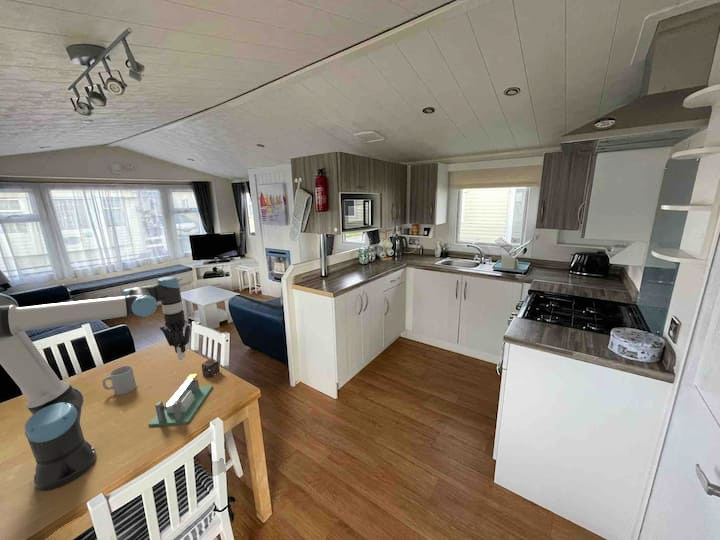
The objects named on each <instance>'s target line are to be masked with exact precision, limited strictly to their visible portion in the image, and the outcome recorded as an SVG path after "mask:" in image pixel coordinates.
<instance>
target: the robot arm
mask: <svg viewBox="0 0 720 540" xmlns="http://www.w3.org/2000/svg"><path fill="white" fill-rule="evenodd" d="M121 293H122V295H120V296H119V295H118V296H111V297H103V298H101V297H100V298H94V299H83V300H75V301H67V302H57V303H47V304H46V303H45V304H38V305H30V306H29V305H28V306H19V304H18V302H17V300H16V299H15V298H14V297H13V296H10V295H7V294H5V293H0V366H2V368H3V369H4V371H6V373H7V374H8V375H9V376H10V378H11V379H12V380H13V381H14V383H15V384H16V385H17V387H19V389H20V390H21V391H22V392H23V394H24V395H25V396H26V398H27V399H28V401H27V402H26V404H25V408H27V409H28V411H29V412H30V413H31V414H32V415H31V416H30V417H29V418H28V419H27V421H26V422H25V425H24V435H25V438H26V439H27V441H28V443H29V446H30V449H31V451H32V455H33V456H34V460H35V463H36V465H35V466H36V467H35V474H34V476H33V483H34V486H35V488H36V489H37V490H39V491H51V490H55V489H57V488H61V487H62V486H65V485H67V484H69V483H71V482H73V481H74V480H76V479H78V478H79V477H80V476H82V475H83V474H84V473H86V472H87V471H88V470H89V469H90V468H91V467H92V466H93V465H94V463H95V462H96V460H97V452H96V449H95V447H93V446H92V445H91V444H90V443H89V442H88V441H87V440H86V439H85V437H84V433H83V430H82V427H81V415H82V409H83V408H82V407H83V404H84V396H83V393H82V392H81V391H80V390H79V389H78V388H76V387H75V386H72V385H71V383H70V382H68V381H61V380H60V378H59V376H58V375H57V374H56V373H55V371H54V370H53V369H52V367H51V365H49V363H48V362H47V361H46V358H44V356H43V355H42V353H41V352H40V351H39V349H38V348H37V346H35V344H34V342H33V341H32V340H31V339H30V337H29V336H28V334H27V333H26V332H27V331H28V332H29V331H34V330H41V329H48V328H55V327H60V326H61V327H62V326H69V325H76V324H83V323H87V322H94V321H102V320H108V319H110V320H111V319H116V318H121V317H127V316H138V317H143V318H145V317H148V316H151V315H153V314H154V313H155V312H156V310H157V307H158V302H160V303H161V310H162V313H163V318H164V319H163V320H164V324H163V325H162V326H161V327H160V328H159V330H161V331H162V333H163V335H164V337H165V339H166V341H167V343H168V345H169V346H170V347H174V350H175V351H174V352H175V353H176V354H177V360H178V361H183V360H184V359H185V358H186V354H185V352H186V350H187V349H186V346H187V345H188V344H189V342H190V336H191V335H190V334H191V328H192V327H193V324H192V323H187V321H186V319H185V312H184V306H183V300H182V294H181V287H180V285H179V279H178V278H177V277H176V276H165V277H160V278H158V279H157V280H156V283H154V284H150V285H143V286H136V287H130V288H126V289H122V292H121Z"/></svg>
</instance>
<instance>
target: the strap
mask: <svg viewBox="0 0 720 540" xmlns="http://www.w3.org/2000/svg"><path fill="white" fill-rule="evenodd" d="M197 377H198V374H197V373H193V374H191V373H190V374H189V375H188V376H187V377H186V380H185V381H184V382H183V384H181V386H180V387H179V388H178V389H179V390H178V389H177V390H178V391H177V390H176V391H177V392H176V391H175V392H176V393H175V392H174V393H175V395H174V396H173V395H172V396H173V397H172V396H171V397H172V398H171V397H170V398H171V400H170V401H169V402H168V403H167V402H166V403H167V406H164V405H163V406H162V407H161V410H172V409H173V403H174V402H175V401H176V400H179V399H180V397H181V396H182V395H183V393H184V392H185V391H186V389H187V388H188V387H189V386H190V384H191V383H192V382H193V380H196V379H197Z"/></svg>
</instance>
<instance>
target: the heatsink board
mask: <svg viewBox="0 0 720 540" xmlns="http://www.w3.org/2000/svg"><path fill="white" fill-rule="evenodd" d="M212 387H214V386H213V385H200V384H199V379H195V380H193V382H192V383H191V384H190V386H189V387H188V388H187V389H186V391H185V392H184V393H183V395H182V396H181V397H180V399H179V400H176V401H175V402H174V403H173V409H172V410H161V407H162V406H167V403H168V402H169V401H170V400H171V398H172V397H173V396H174V395H175V393H176V392H177V391H178V390H179V388H178V389H177V390H176V391H175V392H174V393H173V395H172V396H171V397H170V398H169V399H168V400H167V401H166V403H165V404H163V403H164V402H163V401H161V400H160V401H158V402H156V403H155V405H154V406H155V412H156V414H155V416H154V417H153V418H152V419H151V421H150V422H149V423H147V425H148V427H156V426H157V427H159V426H172V425H173V426H175V425H186V424H187V425H188V424H189V423H190V422H191V420H192V419H193V417H194V416H195V414H196V413H197V411H198V410H199V408H200V406H201V405H202V404H203V402H204V401H205V399H206V398H207V397H208V395H209V394H210V392H211V391H210V390H212V389H213V388H212Z"/></svg>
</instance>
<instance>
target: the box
mask: <svg viewBox="0 0 720 540" xmlns="http://www.w3.org/2000/svg"><path fill="white" fill-rule="evenodd" d="M219 364H220V363H219V360H217V359H214V358H213V359H211V358H209V359H207V360H205V361H204V362H203V363H202V364H201V370H202V376H203V377H205V376H206V378H209V377H212V378H214V377H215V376H216V375H218V374H219V373H220V372H221V370H220V365H219ZM219 371H220V372H219ZM218 372H219V373H218ZM217 373H218V374H217ZM215 374H216V375H215ZM214 375H215V376H214ZM213 376H214V377H213Z"/></svg>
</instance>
